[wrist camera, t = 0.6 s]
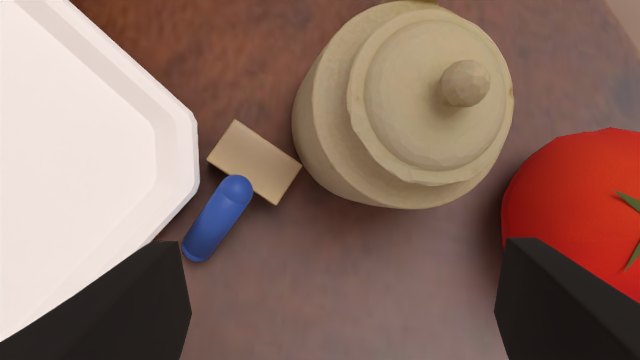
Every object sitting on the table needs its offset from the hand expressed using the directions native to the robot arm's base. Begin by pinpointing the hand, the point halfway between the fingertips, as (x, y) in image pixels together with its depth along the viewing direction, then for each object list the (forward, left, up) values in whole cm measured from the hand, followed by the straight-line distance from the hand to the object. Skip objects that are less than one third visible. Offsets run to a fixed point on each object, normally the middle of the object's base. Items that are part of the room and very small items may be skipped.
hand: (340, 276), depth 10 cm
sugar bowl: (+10, -1, -21) cm, 23 cm away
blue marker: (-2, +3, -18) cm, 19 cm away
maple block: (+2, +3, -21) cm, 21 cm away
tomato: (+11, -17, -21) cm, 29 cm away
